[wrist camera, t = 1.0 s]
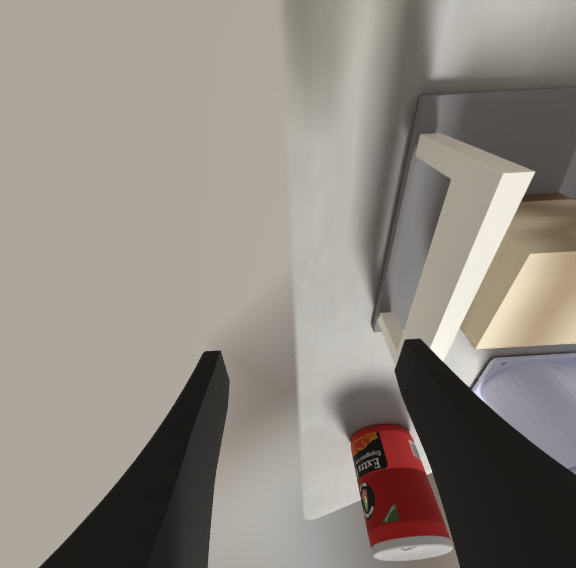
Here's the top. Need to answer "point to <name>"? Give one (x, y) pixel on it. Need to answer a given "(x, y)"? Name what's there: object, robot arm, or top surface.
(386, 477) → the canned food
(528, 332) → the birch cube
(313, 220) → the top surface
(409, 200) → the rubber mat
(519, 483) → the robot arm
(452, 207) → the gate
